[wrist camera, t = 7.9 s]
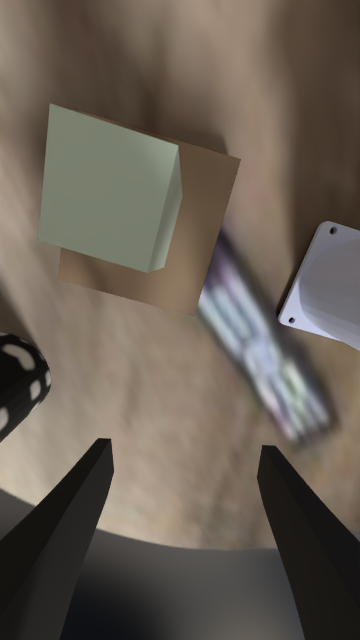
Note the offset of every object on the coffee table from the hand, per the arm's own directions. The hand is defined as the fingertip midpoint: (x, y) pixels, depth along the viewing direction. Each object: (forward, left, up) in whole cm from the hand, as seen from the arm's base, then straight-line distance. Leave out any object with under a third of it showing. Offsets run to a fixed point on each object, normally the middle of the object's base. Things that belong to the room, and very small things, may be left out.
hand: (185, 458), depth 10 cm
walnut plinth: (+6, -10, -10) cm, 15 cm away
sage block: (+6, -10, -7) cm, 14 cm away
